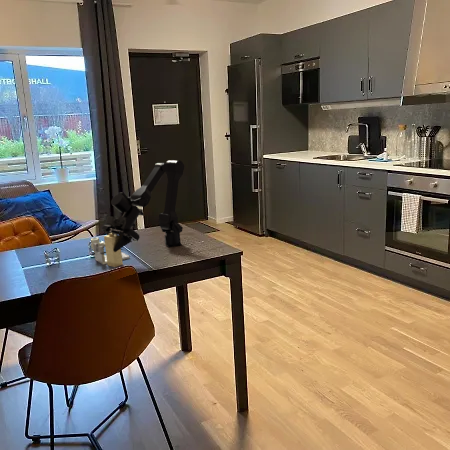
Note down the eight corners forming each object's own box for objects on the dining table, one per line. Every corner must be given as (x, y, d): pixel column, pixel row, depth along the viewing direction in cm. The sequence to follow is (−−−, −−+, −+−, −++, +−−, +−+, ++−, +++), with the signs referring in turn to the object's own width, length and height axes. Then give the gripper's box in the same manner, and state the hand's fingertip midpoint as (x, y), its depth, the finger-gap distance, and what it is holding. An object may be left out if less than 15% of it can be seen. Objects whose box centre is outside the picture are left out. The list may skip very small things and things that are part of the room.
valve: (91, 255, 214) (118, 251, 217) (89, 241, 213) (117, 237, 215) (92, 251, 221) (118, 247, 223) (90, 237, 219) (116, 234, 222)
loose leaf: (115, 262, 200) (111, 231, 197) (123, 264, 197) (119, 232, 194) (107, 265, 197) (103, 233, 194) (114, 267, 194) (110, 235, 191)
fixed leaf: (121, 254, 212) (119, 237, 211) (129, 258, 205) (127, 241, 203) (94, 260, 206) (92, 243, 204) (101, 264, 198) (99, 247, 197)
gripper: (102, 206, 201) (83, 237, 195) (130, 209, 189) (111, 243, 183) (119, 220, 208) (102, 251, 203) (147, 224, 196) (129, 257, 191)
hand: (110, 250), depth 195 cm, fingers closed on loose leaf, 5 cm apart
